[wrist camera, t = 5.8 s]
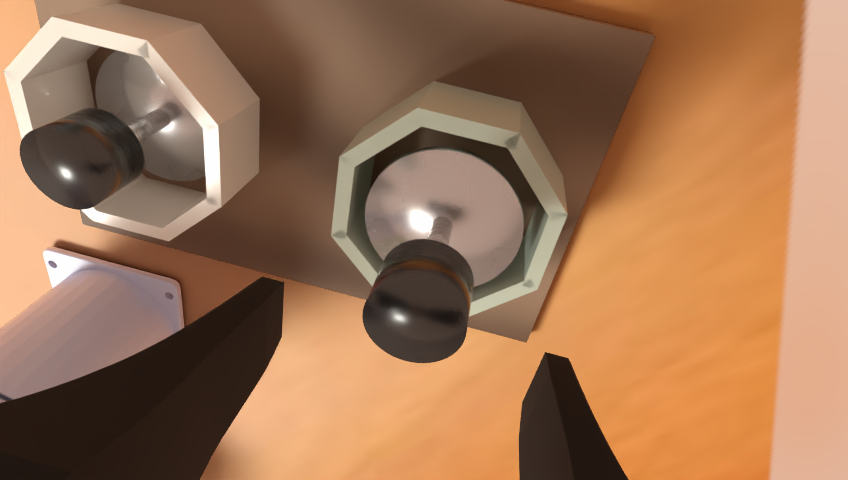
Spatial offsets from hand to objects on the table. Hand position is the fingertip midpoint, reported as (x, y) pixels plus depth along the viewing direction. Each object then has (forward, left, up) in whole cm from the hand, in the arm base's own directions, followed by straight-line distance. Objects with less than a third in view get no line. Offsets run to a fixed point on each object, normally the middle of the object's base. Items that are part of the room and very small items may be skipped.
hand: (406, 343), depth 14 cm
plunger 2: (0, 0, -7) cm, 7 cm away
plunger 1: (0, +13, -10) cm, 16 cm away
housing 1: (0, +13, -10) cm, 17 cm away
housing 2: (0, 0, -10) cm, 10 cm away
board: (0, +7, -10) cm, 12 cm away
